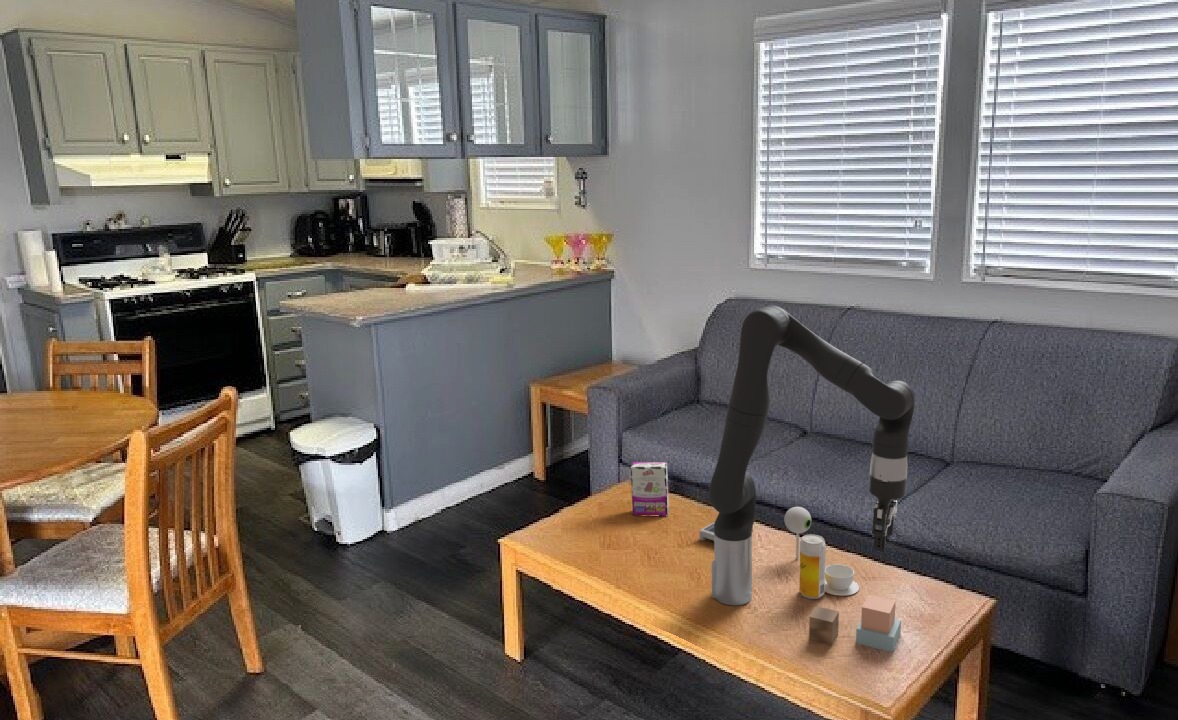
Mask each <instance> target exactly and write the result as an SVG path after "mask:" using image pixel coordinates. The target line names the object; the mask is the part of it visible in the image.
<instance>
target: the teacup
mask: <svg viewBox="0 0 1178 720" xmlns="http://www.w3.org/2000/svg"><path fill="white" fill-rule="evenodd" d="M854 577H855V570H854V569H853V568H852V567H850V566H848V565H844V564H842V563H841V564H840V563H833V564H829V565H825V592H824V593H827V594H830V595H834V596H842V597H844V596H851V595H855V594H856V593H857V592H859V590H860V586H859V584H858V583H857V582H856V581H854Z"/></svg>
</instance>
